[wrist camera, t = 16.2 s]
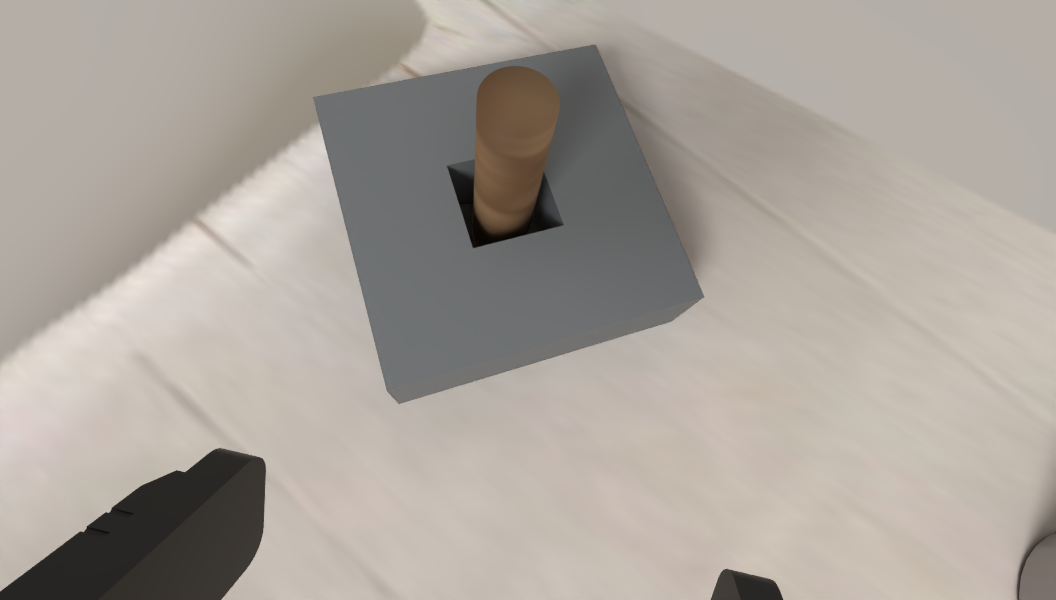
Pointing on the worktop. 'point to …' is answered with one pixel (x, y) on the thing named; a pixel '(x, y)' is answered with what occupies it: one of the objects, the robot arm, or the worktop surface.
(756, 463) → the worktop surface
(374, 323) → the hole block
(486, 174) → the peg
